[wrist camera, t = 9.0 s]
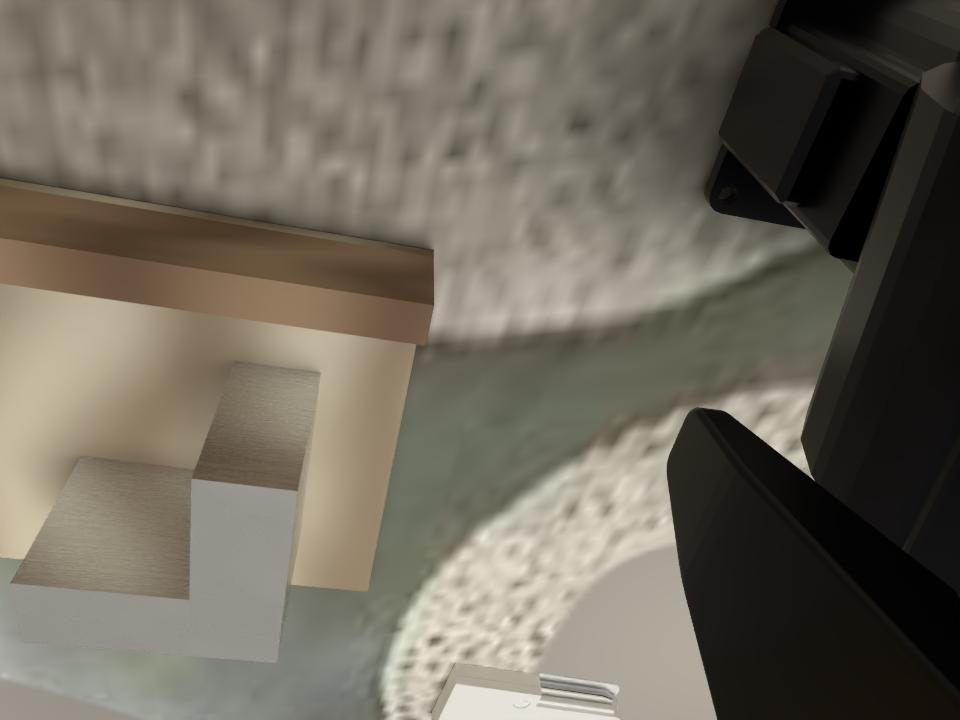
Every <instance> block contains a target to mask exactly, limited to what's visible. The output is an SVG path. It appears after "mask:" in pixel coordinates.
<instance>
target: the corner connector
mask: <svg viewBox="0 0 960 720" xmlns="http://www.w3.org/2000/svg"><path fill="white" fill-rule="evenodd" d="M618 692H619V686H618V685H616V684H613V683H606V682H600V681H593V680H587V679H580V678H573V677H567V676H560V675H553V674H546V673H540V672H539V670H538V663H537V666H536V668H535V670H533V672H532V674H531V673H524V672H516V671H509V670H502V669H495V668H488V667H481V666H474V665H467V664H460V663H455V665H454V667H453V669H452V671H451V673H450V675H449V677H448V680H447V682H446V684H445V686H444V688H443V690H442V692H441V694H440V696H439V698H438V700H437V702H436V705H435V707H434V709H433V711H432V720H621V719H620V714H619V710H618V705H617V700H616V695H617V693H618Z"/></svg>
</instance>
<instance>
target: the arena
mask: <svg viewBox="0 0 960 720" xmlns="http://www.w3.org/2000/svg"><path fill="white" fill-rule="evenodd" d="M433 308H434V251H433V250H428V249H422V248H416V247H410V246H404V245H398V244H392V243H386V242H380V241H374V240H368V239H362V238H356V237H350V236H344V235H338V234H332V233H326V232H320V231H314V230H308V229H302V228H296V227H290V226H284V225H278V224H272V223H266V222H260V221H254V220H248V219H242V218H236V217H230V216H224V215H218V214H212V213H206V212H200V211H195V210H189V209H183V208H177V207H171V206H165V205H159V204H153V203H147V202H141V201H135V200H129V199H123V198H117V197H111V196H105V195H99V194H93V193H87V192H81V191H75V190H69V189H63V188H57V187H51V186H45V185H39V184H33V183H27V182H21V181H15V180H9V179H3V178H0V557H4V558H14V559H24V558H25V556H26V554H27V553H28V551H29V549H30V547H31V545H32V544H33V542H34V540H35V538H36V536H37V535H38V533H39V531H40V529H41V527H42V526H43V524H44V522H45V520H46V518H47V517H48V515H49V513H50V511H51V509H52V508H53V506H54V504H55V502H56V500H57V499H58V497H59V495H60V493H61V491H62V490H63V488H64V486H65V484H66V482H67V481H68V479H69V477H70V475H71V473H72V472H73V470H74V468H75V466H76V464H77V463H78V461H79V459H80V457H81V456H89V457H97V458H106V459H114V460H122V461H131V462H139V463H147V464H156V465H164V466H172V467H181V468H189V469H195V467H196V465H197V462H198V459H199V456H200V454H201V451H202V448H203V445H204V443H205V440H206V437H207V435H208V432H209V429H210V426H211V424H212V421H213V418H214V415H215V413H216V410H217V407H218V405H219V402H220V399H221V396H222V394H223V391H224V388H225V385H226V383H227V380H228V377H229V375H230V372H231V369H232V366H233V364H234V361H235V360H236V361H243V362H250V363H257V364H264V365H271V366H278V367H285V368H291V369H298V370H305V371H312V372H319V373H321V377H320V385H319V393H318V401H317V409H316V417H315V424H314V432H313V440H312V448H311V456H310V463H309V471H308V479H307V487H306V495H305V502H304V510H303V518H302V526H301V534H300V539H299V545H298V550H297V556H296V561H295V567H294V572H293V578H292V583H291V585H301V586H312V587H322V588H333V589H344V590H354V591H365V592H367V591H368V586H369V581H370V576H371V571H372V566H373V561H374V556H375V551H376V545H377V540H378V535H379V530H380V525H381V520H382V515H383V510H384V505H385V500H386V495H387V490H388V485H389V480H390V475H391V470H392V465H393V460H394V454H395V449H396V444H397V439H398V434H399V429H400V424H401V419H402V414H403V409H404V404H405V399H406V394H407V389H408V384H409V379H410V374H411V368H412V363H413V358H414V353H415V348H416V345H423V346H426V342H427V337H428V332H429V327H430V322H431V317H432V313H433Z"/></svg>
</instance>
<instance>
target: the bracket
mask: <svg viewBox="0 0 960 720" xmlns="http://www.w3.org/2000/svg"><path fill="white" fill-rule="evenodd" d="M320 377H321V373H319V372H312V371H305V370H298V369H291V368H285V367H278V366H271V365H264V364H257V363H250V362H243V361H236V360H235V361H234V364H233V366H232V369H231V372H230V375H229V377H228V380H227V383H226V385H225V388H224V391H223V394H222V396H221V399H220V402H219V405H218V407H217V410H216V413H215V415H214V418H213V421H212V424H211V426H210V429H209V432H208V435H207V437H206V440H205V443H204V445H203V448H202V451H201V454H200V456H199V459H198V462H197V465H196V467H195V469H189V468H181V467H172V466H164V465H156V464H147V463H139V462H131V461H122V460H114V459H106V458H97V457H89V456H81V457H80V459H79V461H78V463H77V464H76V466H75V468H74V470H73V472H72V473H71V475H70V477H69V479H68V481H67V482H66V484H65V486H64V488H63V490H62V491H61V493H60V495H59V497H58V499H57V500H56V502H55V504H54V506H53V508H52V509H51V511H50V513H49V515H48V517H47V518H46V520H45V522H44V524H43V526H42V527H41V529H40V531H39V533H38V535H37V536H36V538H35V540H34V542H33V544H32V545H31V547H30V549H29V551H28V553H27V554H26V556H25V558H24V560H23V562H22V563H21V565H20V567H19V569H18V571H17V572H16V574H15V576H14V578H13V580H12V581H11V589H12V595H13V600H14V606H15V612H16V618H17V623H18V629H19V635H20V641H21V642H25V643H37V644H50V645H62V646H74V647H86V648H98V649H111V650H123V651H135V652H147V653H159V654H172V655H184V656H196V657H208V658H221V659H233V660H245V661H257V662H269V663H277V660H278V654H279V649H280V643H281V638H282V632H283V627H284V621H285V616H286V610H287V605H288V600H289V594H290V589H291V583H292V578H293V572H294V567H295V561H296V556H297V550H298V545H299V539H300V534H301V526H302V518H303V510H304V502H305V495H306V487H307V479H308V471H309V463H310V456H311V448H312V440H313V432H314V424H315V417H316V409H317V401H318V393H319V385H320Z"/></svg>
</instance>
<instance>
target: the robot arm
mask: <svg viewBox="0 0 960 720" xmlns="http://www.w3.org/2000/svg"><path fill="white" fill-rule="evenodd" d="M719 135H720V137H721V139H722V142H723V144H722V147H721V149H720V152H719V155H718V157H717V160H716V162H715V165H714V167H713V170H712V172H711V175H710V178H709V180H708V183H707V185H706V189H705V197H706V200H707V202H708V203H709V204H710V206H711V207H712V208H713V209H714V210H715V211H716V212H719V213H722V214H727V215H732V216H738V217H743V218H749V219H754V220H759V221H765V222H770V223H775V224H781V225H786V226H792V227H797V228H802V229H807V230H808V231H809V232H810V233H811V235H812V236H813V237H814V238H815V239H816V240H817V241H818V242H819V243H820V244H821V245H822V246H823V247H824V248H825V249H826V251H827V252H828V253H829V254H830V255H832V256H834V257H836V258H839V259H840V260H841V261H842V262H843V263H844V264H845V265H846V266H847V267H848V268H849V269H850V270H851V271H852V272H853V273H854V276H853V278H852V281H851V284H850V287H849V290H848V293H847V296H846V299H845V302H844V305H843V308H842V311H841V314H840V317H839V320H838V323H837V325H836V328H835V331H834V334H833V337H832V340H831V343H830V346H829V349H828V352H827V355H826V358H825V361H824V364H823V367H822V370H821V372H820V375H819V378H818V381H817V384H816V387H815V390H814V393H813V396H812V399H811V402H810V405H809V408H808V411H807V415H806V419H805V423H804V427H803V431H802V435H801V442H802V445H803V449H804V452H805V455H806V459H807V462H808V465H809V469H810V472H811V475H812V476H813V478H814V480H815V481H816V482H815V481H814V480H813V479H812V478H810V477H809V476H808V475H806V474H805V473H804V472H803V471H801V470H800V469H799V468H797V467H796V466H795V465H794V464H792V463H791V462H790V461H788V460H787V459H786V458H785V457H783V456H782V455H781V454H780V453H778V452H777V451H776V450H774V449H773V448H772V447H771V446H769V445H768V444H767V443H765V442H764V441H763V440H762V439H760V438H759V437H758V436H756V435H755V434H754V433H753V432H751V431H750V430H749V429H747V428H746V427H745V426H744V425H742V424H741V423H740V422H739V421H737V420H736V419H735V418H733V417H732V416H731V415H730V414H728V413H727V412H725V411H722V410H715V409H707V408H699V407H697V408H694V409H692V410H691V411H690V412H689V413H688V415H687V416H686V418H685V420H684V423H683V425H682V427H681V429H680V432H679V434H678V436H677V438H676V441H675V443H674V445H673V448H672V450H671V452H670V455H669V458H668V462H667V480H668V487H669V494H670V501H671V509H672V516H673V523H674V531H675V538H676V545H677V552H678V559H679V566H680V572H681V578H682V583H683V587H684V591H685V595H686V600H687V604H688V607H689V611H690V615H691V619H692V623H693V627H694V631H695V635H696V639H697V642H698V646H699V650H700V654H701V658H702V662H703V666H704V670H705V674H706V677H707V681H708V685H709V689H710V693H711V697H712V700H713V705H714V708H715V712H716V716H717V720H960V0H779V1H778V4H777V7H776V9H775V12H774V14H773V17H772V19H771V22H770V24H769V27H766V28H765V29H764V30H762V31H761V32H760V33H758V34H757V35H756V37H755V40H754V43H753V45H752V48H751V50H750V53H749V55H748V58H747V61H746V63H745V66H744V68H743V71H742V74H741V76H740V79H739V81H738V84H737V87H736V89H735V92H734V94H733V97H732V100H731V102H730V105H729V107H728V110H727V113H726V115H725V118H724V120H723V123H722V125H721V128H720V131H719ZM726 187H733V191H732V193H731V194H730V196H729V197H727V198H725V199H719V193H720V192H721V191H722V189H724V188H726Z"/></svg>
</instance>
